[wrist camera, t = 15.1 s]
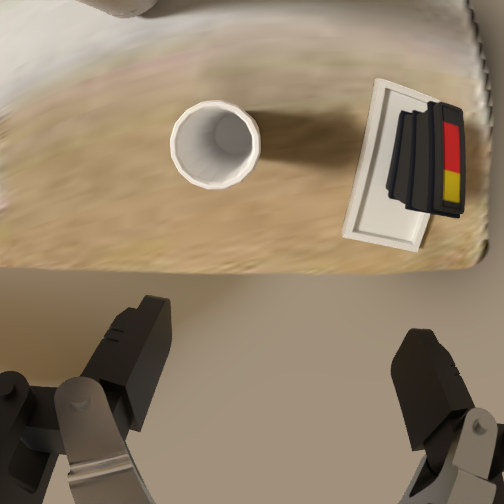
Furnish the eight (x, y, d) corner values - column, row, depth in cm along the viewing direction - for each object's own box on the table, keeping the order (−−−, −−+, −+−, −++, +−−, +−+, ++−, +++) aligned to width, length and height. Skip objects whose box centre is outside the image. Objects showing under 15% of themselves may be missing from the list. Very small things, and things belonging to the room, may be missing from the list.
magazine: (380, 214, 39) (436, 212, 24) (384, 121, 37) (433, 81, 22) (404, 217, 38) (466, 218, 24) (407, 127, 37) (463, 92, 22)
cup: (245, 175, 40) (229, 207, 27) (193, 144, 39) (153, 162, 26) (279, 124, 37) (280, 131, 24) (225, 92, 35) (197, 83, 23)
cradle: (374, 79, 33) (379, 77, 31) (449, 107, 33) (456, 107, 31) (340, 231, 42) (343, 237, 41) (412, 246, 42) (417, 252, 41)
